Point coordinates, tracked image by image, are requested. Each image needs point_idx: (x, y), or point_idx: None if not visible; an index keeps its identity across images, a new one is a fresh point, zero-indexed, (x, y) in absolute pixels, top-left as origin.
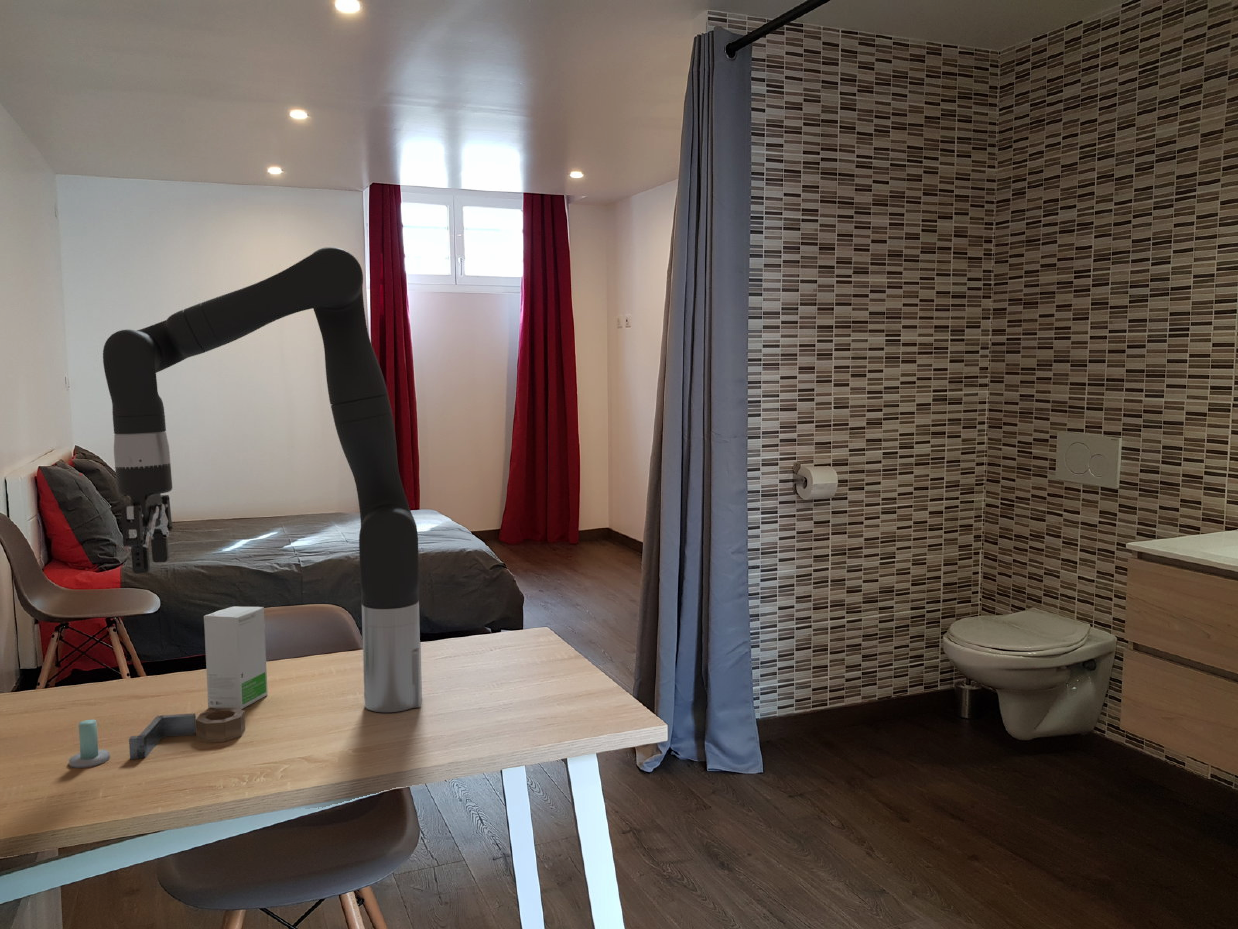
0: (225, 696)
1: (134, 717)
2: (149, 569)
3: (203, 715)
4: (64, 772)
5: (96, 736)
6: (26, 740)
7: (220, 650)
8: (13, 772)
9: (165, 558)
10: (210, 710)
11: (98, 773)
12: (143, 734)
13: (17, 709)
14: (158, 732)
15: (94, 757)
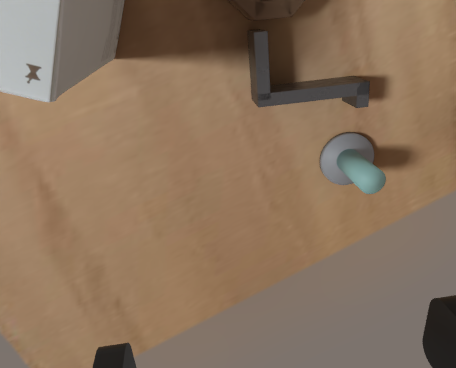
0: (119, 13)
1: (162, 178)
2: (452, 300)
3: (268, 8)
4: None
5: (362, 160)
6: (250, 279)
7: (94, 26)
8: (363, 235)
9: (128, 360)
10: (239, 4)
11: (396, 122)
12: (353, 89)
13: None
14: (288, 86)
15: (355, 150)
